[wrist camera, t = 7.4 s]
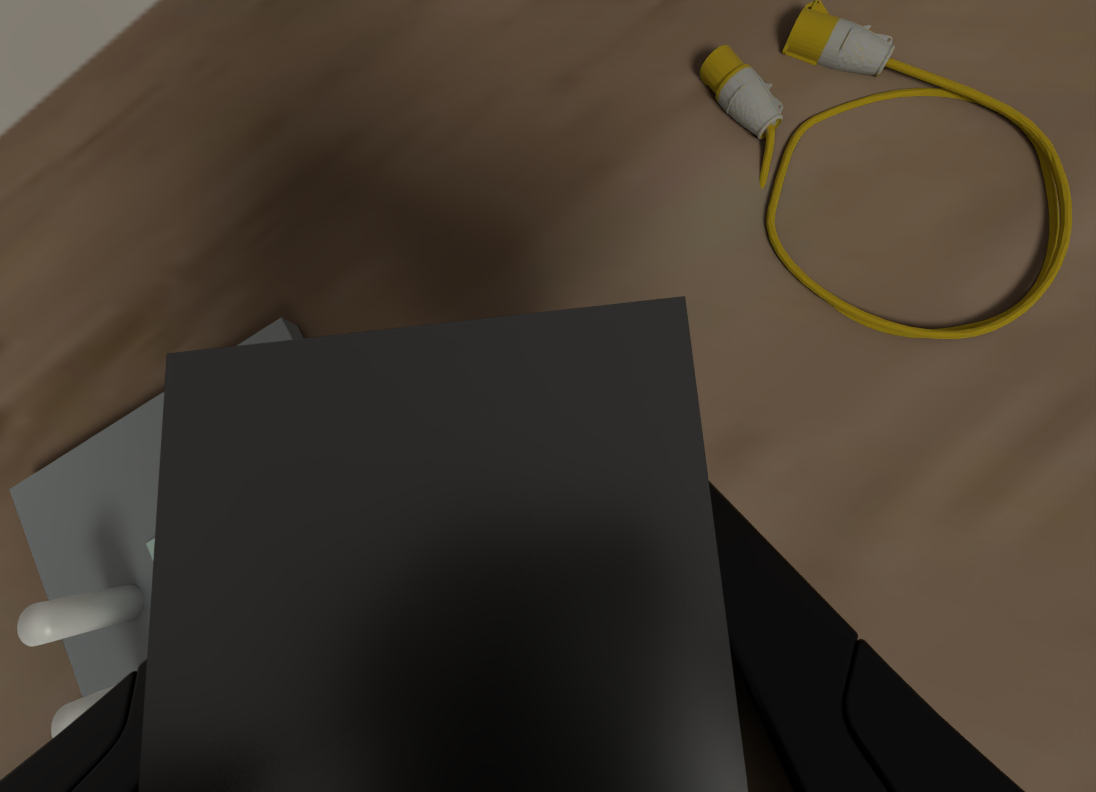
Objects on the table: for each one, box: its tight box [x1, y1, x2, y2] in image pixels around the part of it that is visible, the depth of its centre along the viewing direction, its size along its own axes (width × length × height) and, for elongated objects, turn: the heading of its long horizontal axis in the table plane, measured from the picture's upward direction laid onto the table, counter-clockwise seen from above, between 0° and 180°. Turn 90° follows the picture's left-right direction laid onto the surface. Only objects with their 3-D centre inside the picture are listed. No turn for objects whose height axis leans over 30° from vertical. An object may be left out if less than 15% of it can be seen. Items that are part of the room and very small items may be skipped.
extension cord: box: [700, 0, 1072, 339], centre depth 22 cm, size 12×16×2 cm
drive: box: [139, 296, 748, 792], centre depth 9 cm, size 5×4×11 cm
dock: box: [10, 318, 304, 738], centre depth 20 cm, size 18×14×5 cm
